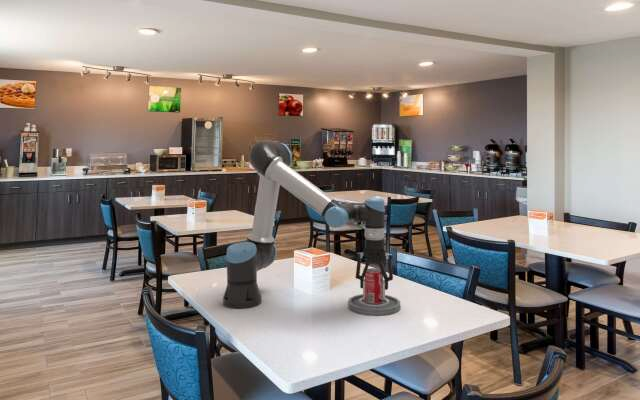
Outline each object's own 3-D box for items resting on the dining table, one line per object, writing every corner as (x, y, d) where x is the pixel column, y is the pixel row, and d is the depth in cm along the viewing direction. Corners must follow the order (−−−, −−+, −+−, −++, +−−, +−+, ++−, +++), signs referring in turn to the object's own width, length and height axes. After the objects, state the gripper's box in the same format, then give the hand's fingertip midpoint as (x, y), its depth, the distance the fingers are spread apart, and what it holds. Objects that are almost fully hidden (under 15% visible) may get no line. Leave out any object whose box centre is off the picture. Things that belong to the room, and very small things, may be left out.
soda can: (382, 306, 178) (382, 272, 177) (363, 305, 180) (363, 271, 178) (384, 300, 185) (384, 268, 184) (365, 299, 187) (366, 267, 185)
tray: (344, 313, 175) (344, 307, 174) (352, 297, 194) (352, 291, 194) (399, 317, 171) (399, 310, 170) (401, 300, 190) (401, 294, 190)
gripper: (347, 239, 178) (347, 298, 180) (400, 241, 174) (399, 301, 176) (350, 235, 186) (350, 292, 188) (401, 237, 181) (400, 295, 184)
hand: (374, 297), depth 182 cm, fingers closed on soda can, 7 cm apart
